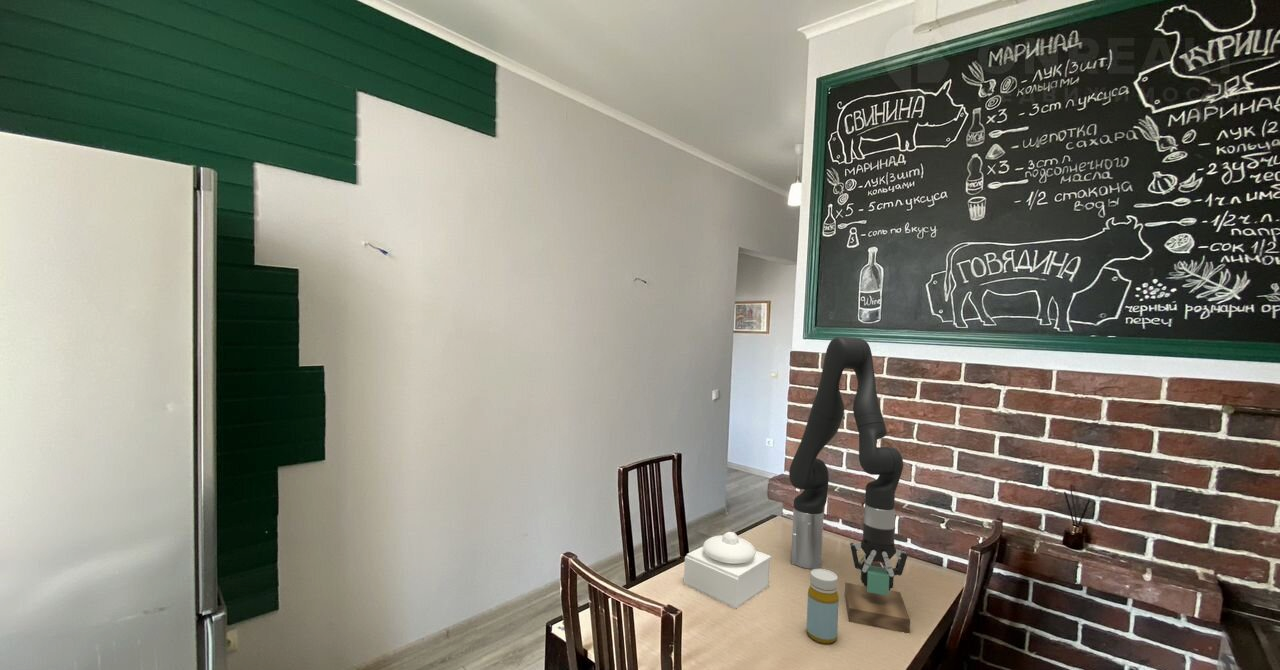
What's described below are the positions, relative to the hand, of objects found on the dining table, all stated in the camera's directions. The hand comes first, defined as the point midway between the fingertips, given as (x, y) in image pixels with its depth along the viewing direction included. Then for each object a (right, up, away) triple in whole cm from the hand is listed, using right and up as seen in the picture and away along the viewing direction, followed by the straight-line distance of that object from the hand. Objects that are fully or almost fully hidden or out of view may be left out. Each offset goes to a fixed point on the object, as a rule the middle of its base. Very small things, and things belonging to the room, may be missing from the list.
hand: (876, 586), depth 133 cm
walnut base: (0, -8, 0) cm, 8 cm away
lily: (+12, -8, +28) cm, 31 cm away
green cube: (0, -1, 0) cm, 1 cm away
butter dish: (-38, -6, +12) cm, 40 cm away
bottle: (-19, -7, -11) cm, 23 cm away
